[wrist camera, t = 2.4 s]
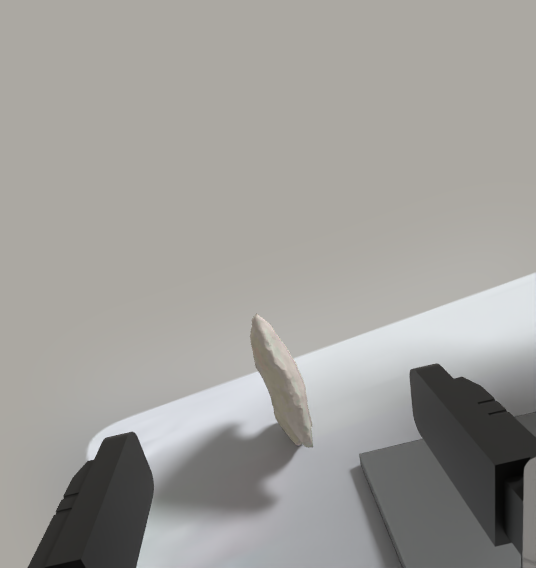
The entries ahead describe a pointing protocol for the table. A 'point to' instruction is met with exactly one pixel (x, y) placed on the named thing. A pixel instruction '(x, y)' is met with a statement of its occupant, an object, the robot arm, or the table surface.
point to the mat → (431, 510)
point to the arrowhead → (282, 382)
